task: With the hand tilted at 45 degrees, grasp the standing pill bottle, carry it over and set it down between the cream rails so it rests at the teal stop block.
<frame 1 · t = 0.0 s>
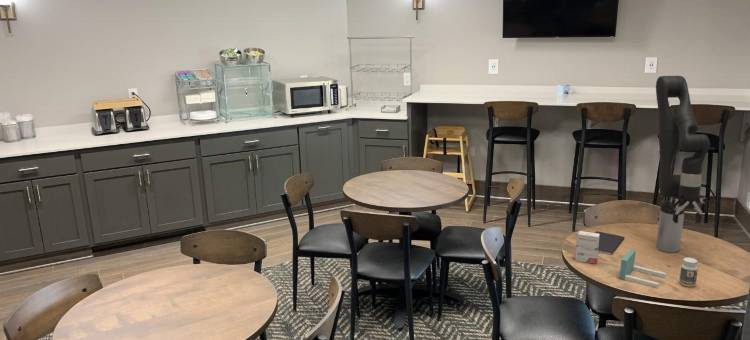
hand: (686, 222, 241), 17 cm above the table, tool pointing down, fingers open, 8 cm apart
notebook: (603, 245, 266), on the table
ink box: (586, 260, 250), on the table
pill bottle: (687, 284, 228), on the table
pocket: (638, 276, 234), on the table
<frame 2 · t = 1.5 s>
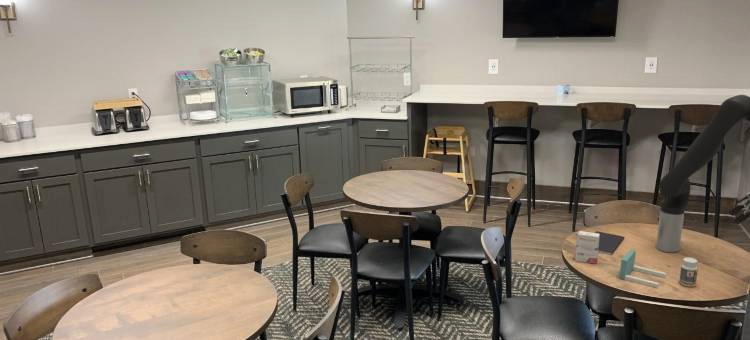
hand: (732, 218, 218), 27 cm above the table, tool tilted 45°, fingers open, 8 cm apart
nothing on the table moved.
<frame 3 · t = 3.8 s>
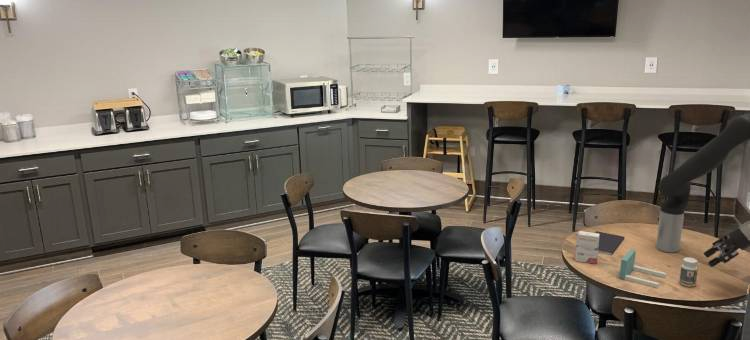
hand: (707, 260, 223), 10 cm above the table, tool tilted 45°, fingers open, 8 cm apart
nothing on the table moved.
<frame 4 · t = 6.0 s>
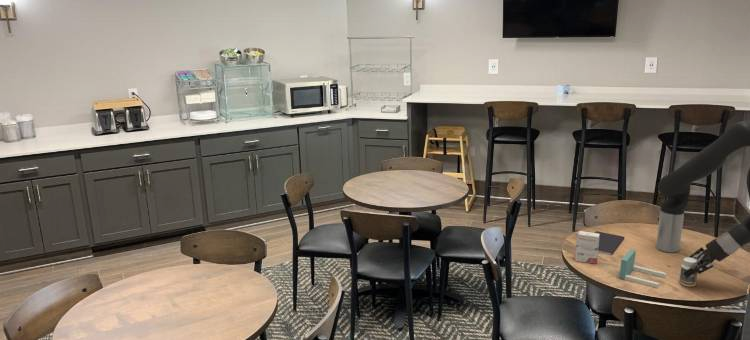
hand: (683, 271, 227), 5 cm above the table, tool tilted 45°, fingers closed on pill bottle, 5 cm apart
pill bottle: (687, 284, 228), on the table, touching gripper
everything else where it was.
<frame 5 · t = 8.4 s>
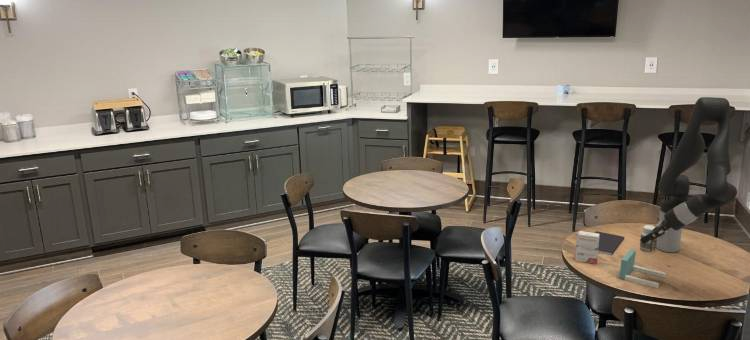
hand: (643, 238, 230), 16 cm above the table, tool tilted 45°, fingers closed on pill bottle, 5 cm apart
pill bottle: (647, 251, 230), point 11 cm above the table, touching gripper
everything else where it was.
when the fingers open (6 cm above the table, at t = 11.1 s): pill bottle stays where it is, resting in pocket.
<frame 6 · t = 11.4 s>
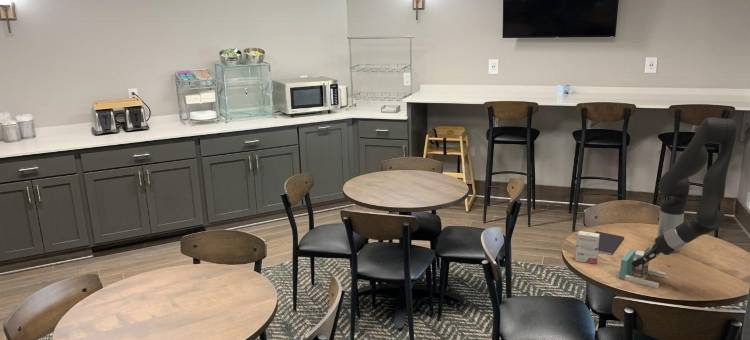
hand: (636, 261, 234), 6 cm above the table, tool tilted 45°, fingers open, 8 cm apart
pill bottle: (639, 276, 234), resting in pocket
everything else where it was.
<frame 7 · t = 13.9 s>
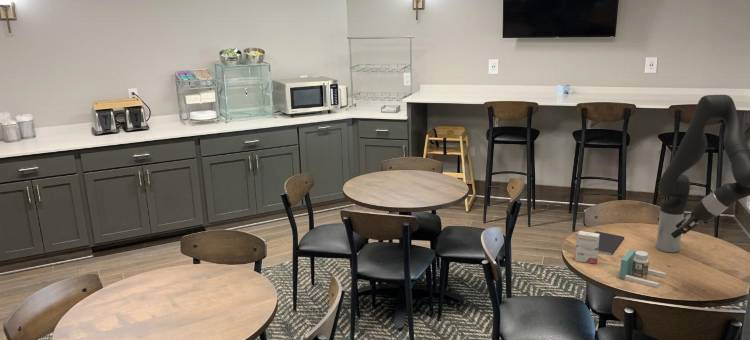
hand: (675, 231, 224), 21 cm above the table, tool tilted 40°, fingers open, 8 cm apart
nothing on the table moved.
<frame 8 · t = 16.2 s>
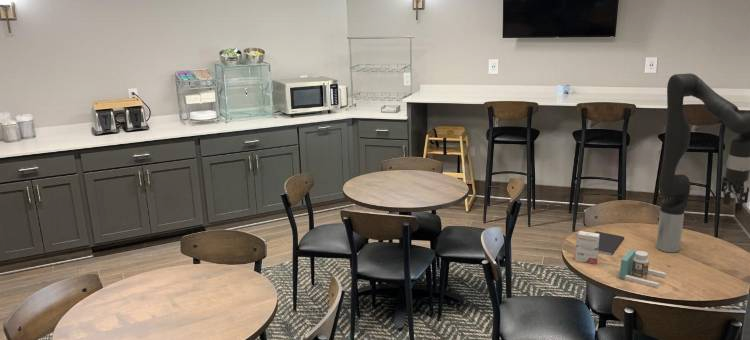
hand: (731, 208, 226), 28 cm above the table, tool pointing down, fingers open, 8 cm apart
nothing on the table moved.
at the end: pill bottle inside the target area on the pocket (0.2 cm from its centre), point 0.0 cm above the pocket's base; pill bottle tilted 0°; the gripper is holding nothing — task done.
